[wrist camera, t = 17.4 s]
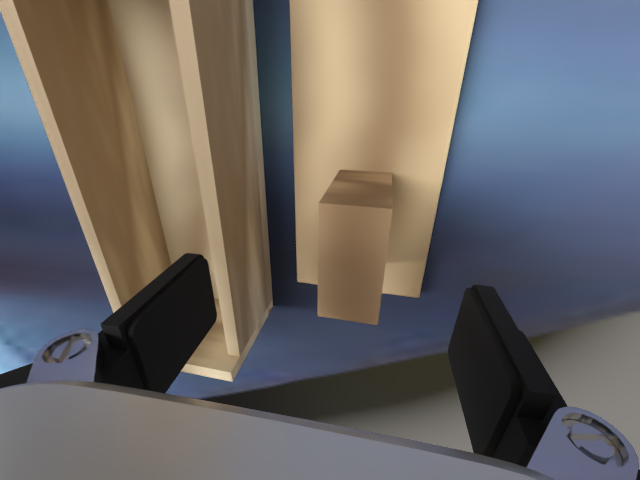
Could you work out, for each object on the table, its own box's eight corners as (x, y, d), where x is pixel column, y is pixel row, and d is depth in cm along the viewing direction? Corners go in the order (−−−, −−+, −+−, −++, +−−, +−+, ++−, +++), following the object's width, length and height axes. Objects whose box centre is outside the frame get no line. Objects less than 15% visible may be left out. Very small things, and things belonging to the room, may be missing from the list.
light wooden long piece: (178, 292, 26) (110, 356, 20) (64, -187, 14) (-213, -424, 7) (273, 306, 24) (232, 381, 18) (238, -217, 12) (77, -546, 6)
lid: (301, 273, 23) (267, 342, 17) (295, -54, 14) (222, -167, 8) (417, 287, 21) (429, 369, 15) (486, -69, 13) (578, -221, 7)
